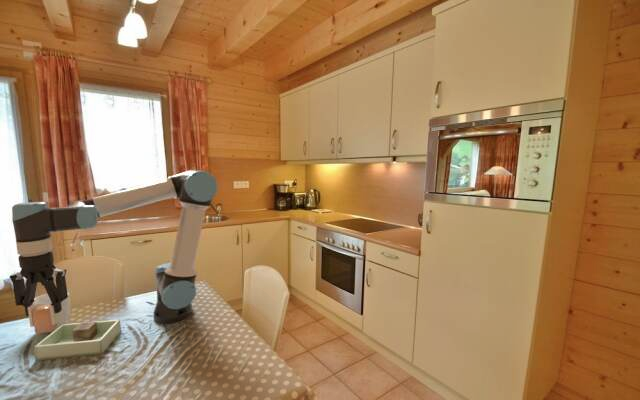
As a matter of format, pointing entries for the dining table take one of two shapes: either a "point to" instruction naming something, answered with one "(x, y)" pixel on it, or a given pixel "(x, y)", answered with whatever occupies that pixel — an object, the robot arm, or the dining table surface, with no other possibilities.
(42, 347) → the tray
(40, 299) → the mug
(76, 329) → the walnut cube
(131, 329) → the dining table surface
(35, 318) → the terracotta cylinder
